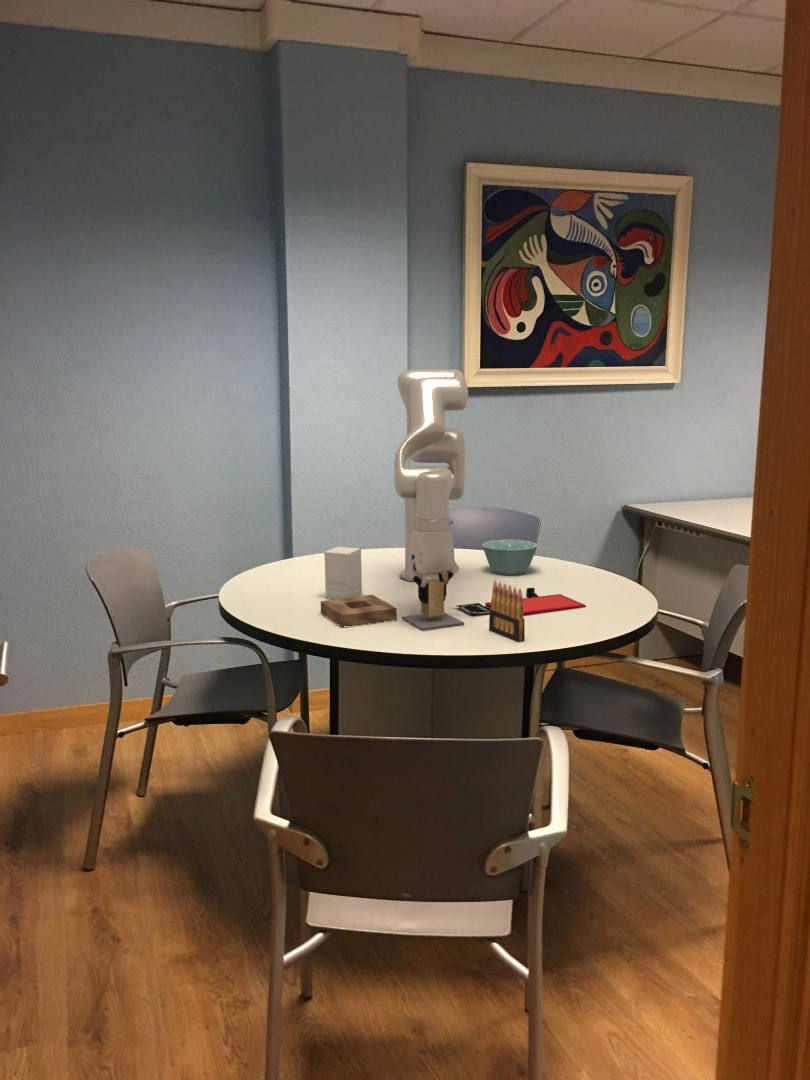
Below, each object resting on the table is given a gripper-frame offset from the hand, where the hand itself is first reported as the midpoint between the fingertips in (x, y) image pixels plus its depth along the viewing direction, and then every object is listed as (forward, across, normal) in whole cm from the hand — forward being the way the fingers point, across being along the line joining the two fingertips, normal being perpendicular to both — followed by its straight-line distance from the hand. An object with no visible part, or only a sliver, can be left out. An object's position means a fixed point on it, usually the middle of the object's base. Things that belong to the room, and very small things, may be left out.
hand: (432, 600), depth 218 cm
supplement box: (+6, +10, -31) cm, 33 cm away
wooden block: (+3, 0, 0) cm, 3 cm away
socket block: (+5, +14, -12) cm, 19 cm away
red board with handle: (+6, -26, -2) cm, 26 cm away
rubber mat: (+5, 0, 0) cm, 5 cm away
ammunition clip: (+5, -10, +17) cm, 21 cm away
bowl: (+6, -44, -36) cm, 57 cm away
